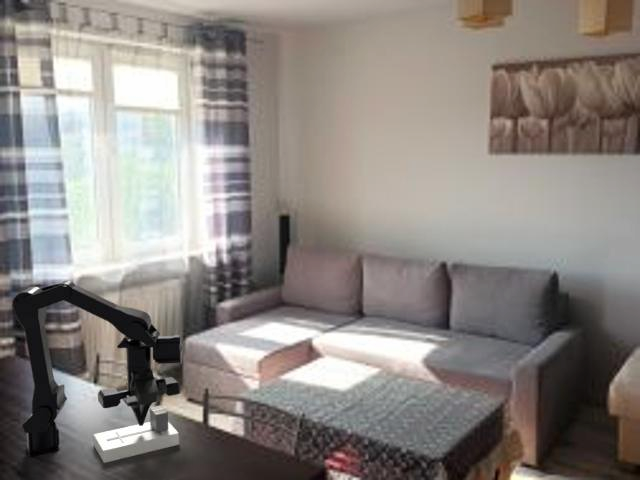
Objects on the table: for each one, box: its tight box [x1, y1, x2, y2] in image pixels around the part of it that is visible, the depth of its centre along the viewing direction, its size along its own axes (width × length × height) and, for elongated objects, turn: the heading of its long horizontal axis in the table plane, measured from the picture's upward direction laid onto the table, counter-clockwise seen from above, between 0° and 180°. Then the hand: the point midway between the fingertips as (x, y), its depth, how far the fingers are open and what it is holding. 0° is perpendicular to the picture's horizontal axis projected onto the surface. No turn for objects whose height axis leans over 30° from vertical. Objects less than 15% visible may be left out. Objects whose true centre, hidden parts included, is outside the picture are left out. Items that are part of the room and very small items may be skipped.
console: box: [93, 421, 180, 464], centre depth 157 cm, size 18×10×3 cm, turn 122°
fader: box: [149, 405, 169, 432], centre depth 159 cm, size 3×5×5 cm, turn 32°
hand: (140, 425), depth 157 cm, fingers closed
